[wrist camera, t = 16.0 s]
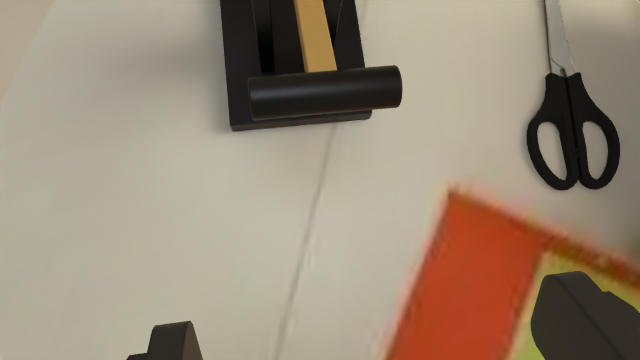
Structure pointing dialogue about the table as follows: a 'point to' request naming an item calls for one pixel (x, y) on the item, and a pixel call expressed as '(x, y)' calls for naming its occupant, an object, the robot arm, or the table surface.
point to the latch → (322, 78)
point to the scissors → (569, 115)
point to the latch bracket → (281, 53)
